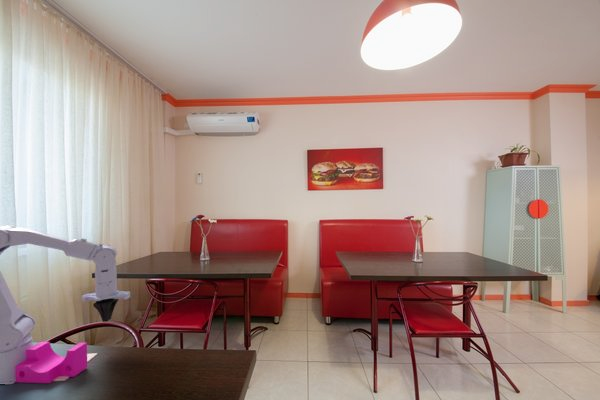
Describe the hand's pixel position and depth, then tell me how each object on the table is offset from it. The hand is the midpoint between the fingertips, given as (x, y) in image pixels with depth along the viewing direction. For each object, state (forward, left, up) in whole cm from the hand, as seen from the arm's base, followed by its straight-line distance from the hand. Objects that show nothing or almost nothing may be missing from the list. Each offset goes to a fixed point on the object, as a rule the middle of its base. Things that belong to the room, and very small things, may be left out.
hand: (107, 320), depth 79 cm
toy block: (-6, -12, -9) cm, 16 cm away
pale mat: (-4, -9, -9) cm, 14 cm away
